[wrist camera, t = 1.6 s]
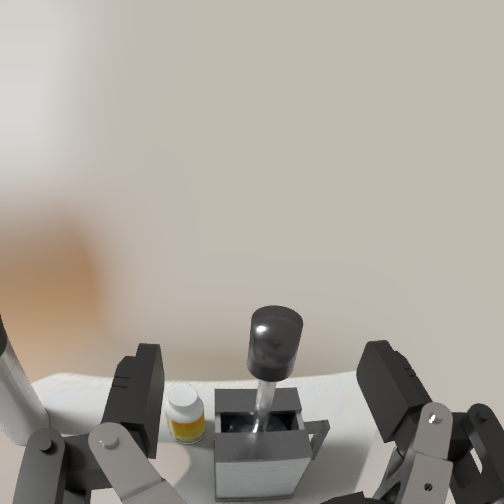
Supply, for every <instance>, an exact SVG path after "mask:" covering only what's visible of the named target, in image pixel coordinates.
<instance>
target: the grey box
mask: <svg viewBox="0 0 504 504" xmlns="http://www.w3.org/2000/svg"><path fill="white" fill-rule="evenodd" d="M257 390H258V389H215V440H214V467H215V501H216V502H235V501H261V500H275V499H285V498H292V496H293V493H292V492H293V491H294V489H295V487H296V485H297V484H298V482H299V480H300V478H301V476H302V474H303V473H304V471H305V469H306V467H307V465H308V463H309V461H310V460H314V458H315V457H316V455H317V453H318V451H319V449H320V447H321V445H322V443H323V441H324V439H325V437H326V435H327V433H328V431H329V429H330V425H329V422H328V420H321V421H311V422H303V419H302V415H301V411H302V408H301V404H300V399H299V395H298V391H297V387H295V388H275V392H274V397H273V401H272V406H271V411H270V415H272V416H274V417H276V418H278V419H279V420H280V421H281V422H282V423H283V424H284V425H285V427H286V429H287V431H275V432H250V433H227V430H228V427H229V425H230V424H231V422H232V421H233V420H234V419H236V418H237V417H239V416H240V415H254V411H255V404H256V397H257ZM308 434H314V435H313V437H312V439H311V442H310V441H309V437H308Z"/></svg>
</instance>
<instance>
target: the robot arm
mask: <svg viewBox="0 0 504 504" xmlns="http://www.w3.org/2000/svg"><path fill="white" fill-rule="evenodd" d="M356 376H357V381H358V384H359V386H360V388H361V391H362V393H363V395H364V397H365V400H366V402H367V404H368V406H369V409H370V411H371V413H372V416H373V418H374V420H375V423H376V425H377V427H378V430H379V432H380V434H381V437H382V439H383V441H384V443H387V442H391V441H395V443H396V446H395V447H394V449H393V452H392V455H391V458H390V460H389V463H388V466H387V469H386V472H385V474H384V477H383V479H382V482H381V484H380V486H379V488H378V489H377V491H376V492H375V494H374V496H373V497H372V498H365V497H364V494H363V491H361V492H357V493H353V494H349V495H344V496H340V497H335V498H332V499H330V500H328V501H325V502H323V503H321V504H445V501H446V497H447V492H448V488H449V487H450V489H451V492H452V494H453V497H454V500H455V503H456V504H504V430H503V428H502V426H501V425H500V423H499V421H498V419H497V418H496V416H495V414H494V413H493V411H492V410H491V409H490V408H489V407H488V406H486V405H484V404H479V403H478V404H474V405H473V406H471V408H470V409H469V410H468V411H467V413H462V412H457V413H456V412H451V411H450V410H449V409H448V408H447V407H446V406H445V405H443V404H441V403H436V402H433V401H432V400H431V398H430V396H429V395H428V393H427V391H426V390H425V388H424V387H423V385H422V383H421V381H420V380H419V378H418V377H416V373H415V372H414V370H413V369H412V367H411V365H410V364H409V362H408V361H407V359H406V358H405V357H404V356H403V355H401V354H400V353H399V352H398V351H394V350H393V349H392V347H391V346H390V344H389V342H388V341H386V340H379V341H369V342H368V343H367V344H366V346H365V349H364V352H363V354H362V357H361V360H360V362H359V365H358V367H357V373H356ZM163 392H164V369H163V362H162V356H161V349H160V345H159V344H143V343H140V344H139V346H138V349H137V353H136V357H133V356H125V357H124V358H123V360H122V361H121V362H120V363H119V364H118V366H117V369H116V372H115V375H114V379H113V382H112V387H111V389H110V392H109V396H108V399H107V403H106V407H105V410H104V414H103V418H102V421H101V423H100V425H98V426H96V427H95V428H94V429H93V430H92V431H91V432H90V433H88V434H85V435H79V436H69V437H62V436H61V434H60V433H59V432H57V431H56V430H53V429H50V428H49V426H50V420H49V416H48V414H47V412H46V410H45V408H44V407H43V405H42V403H41V402H40V400H39V398H38V396H37V394H36V393H35V391H34V389H33V387H32V385H31V384H30V382H29V380H28V378H27V376H26V374H25V372H24V370H23V368H22V366H21V364H20V362H19V360H18V358H17V356H16V354H15V352H14V350H13V348H12V345H11V343H10V341H9V338H8V336H7V334H6V331H5V329H4V326H3V323H2V319H1V315H0V429H1V431H3V432H4V433H5V434H6V435H7V437H9V439H10V440H11V441H12V442H14V443H15V444H17V445H21V446H26V449H25V452H24V456H23V460H22V464H21V467H20V472H19V476H18V480H17V484H16V489H15V493H14V498H13V504H90V499H91V490H95V489H105V488H114V490H115V491H116V493H117V494H118V496H119V498H120V500H121V502H122V503H123V504H187V503H186V502H185V501H184V500H183V499H182V498H181V497H180V495H179V494H178V493H177V492H176V491H175V490H174V488H173V487H172V486H171V485H170V484H169V483H168V482H167V481H166V480H165V479H163V478H162V477H161V476H160V475H159V474H158V472H157V471H156V470H155V468H154V467H153V466H152V464H151V463H150V462H149V460H148V458H151V459H156V451H157V442H158V432H159V424H160V415H161V407H162V400H163ZM473 448H474V449H475V451H476V453H477V455H478V457H479V459H480V461H481V463H482V472H481V474H480V472H479V470H478V468H477V465H476V463H475V461H474V459H473V457H472V455H471V453H470V451H471V450H472V449H473Z"/></svg>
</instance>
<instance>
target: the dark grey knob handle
mask: <svg viewBox="0 0 504 504" xmlns="http://www.w3.org/2000/svg"><path fill="white" fill-rule="evenodd" d="M302 328H303V320H302V318H301V316H300V315H299V314H298V313H297V312H295V311H294V310H292V309H289V308H287V307H283V306H266V307H262V308H260V309H258V310H256V311H255V312H254V313H253V315H252V320H251V331H250V342H249V352H248V362H247V366H248V369H249V371H250V373H251V374H252V375H253V376H255V377H256V378H258V379H259V383H258V390H257V397H256V404H255V411H254V415H240V416H239V417H237V418H236V419H234V420H233V421H232V422H231V424H230V425H229V427H228V430H227V433H250V432H275V431H287V429H286V427H285V425H284V424H283V423H282V422H281V421H280V420H279V419H278V418H276V417H274V416H272V415H270V411H271V406H272V401H273V397H274V392H275V387H276V382H278V381H282V380H284V379H286V378H288V377H289V376H290V375H291V373H292V371H293V368H294V363H295V359H296V355H297V350H298V346H299V342H300V337H301V333H302Z"/></svg>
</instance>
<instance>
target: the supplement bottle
mask: <svg viewBox="0 0 504 504" xmlns="http://www.w3.org/2000/svg"><path fill="white" fill-rule="evenodd" d="M165 413H166V418H167V422H168V427H169V431H170V434H171V436H172V438H173V439H174V440H176V441H177V442H179V443H182V444H194V443H196V442H198V441H200V440H201V439H202V437H203V436H204V432H205V423H204V406H203V402H202V400H201V399H200V398H199V397H198V392H197V390H196V389H195V388H194V387H193V386H191V385H189V384H183V383H182V384H177V385H174V386H172V387H171V388H170V389H169V391H168V399H167V400H166V402H165Z"/></svg>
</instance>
